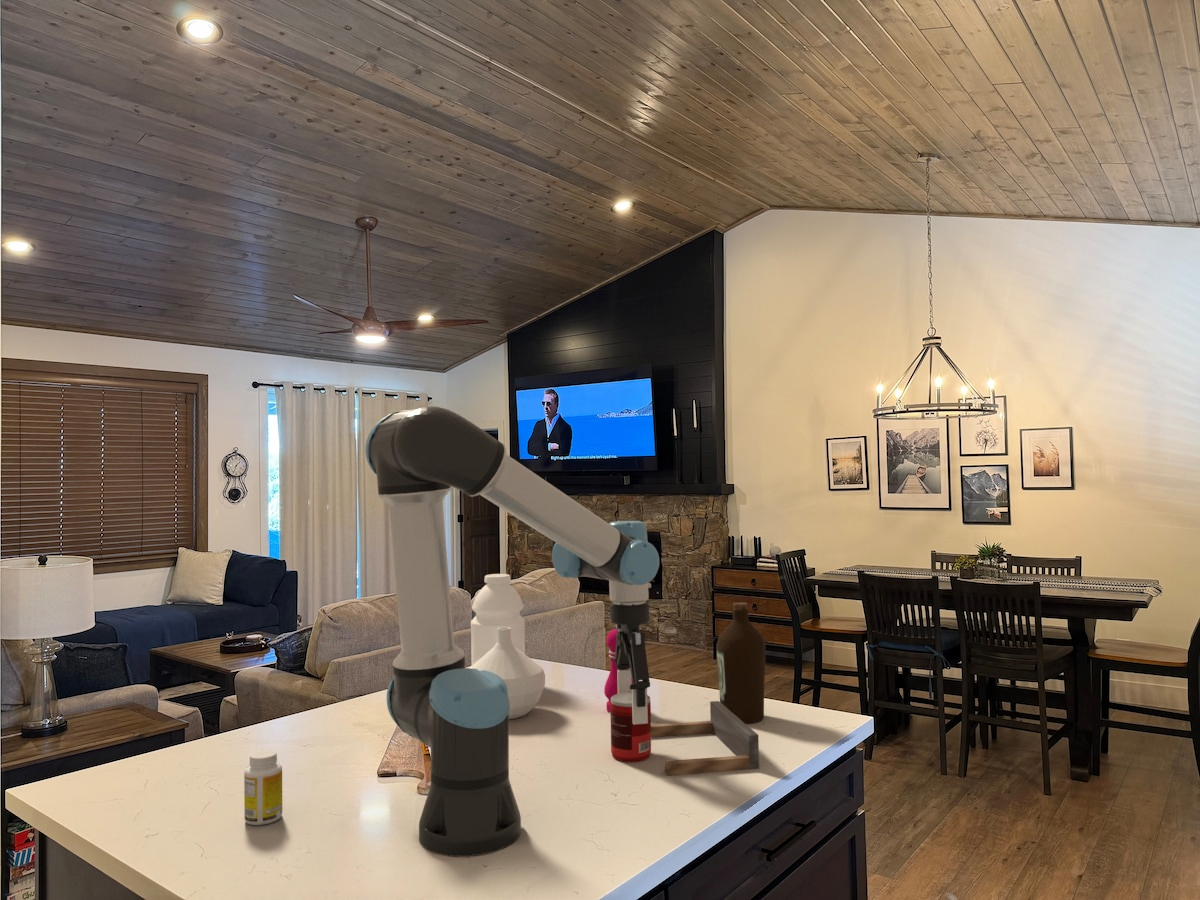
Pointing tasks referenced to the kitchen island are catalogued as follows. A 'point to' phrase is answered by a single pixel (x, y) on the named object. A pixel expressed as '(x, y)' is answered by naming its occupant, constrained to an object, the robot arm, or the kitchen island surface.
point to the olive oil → (742, 667)
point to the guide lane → (726, 730)
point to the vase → (514, 673)
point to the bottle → (496, 616)
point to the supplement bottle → (263, 788)
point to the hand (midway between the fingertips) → (632, 712)
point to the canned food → (629, 730)
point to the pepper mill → (612, 669)
